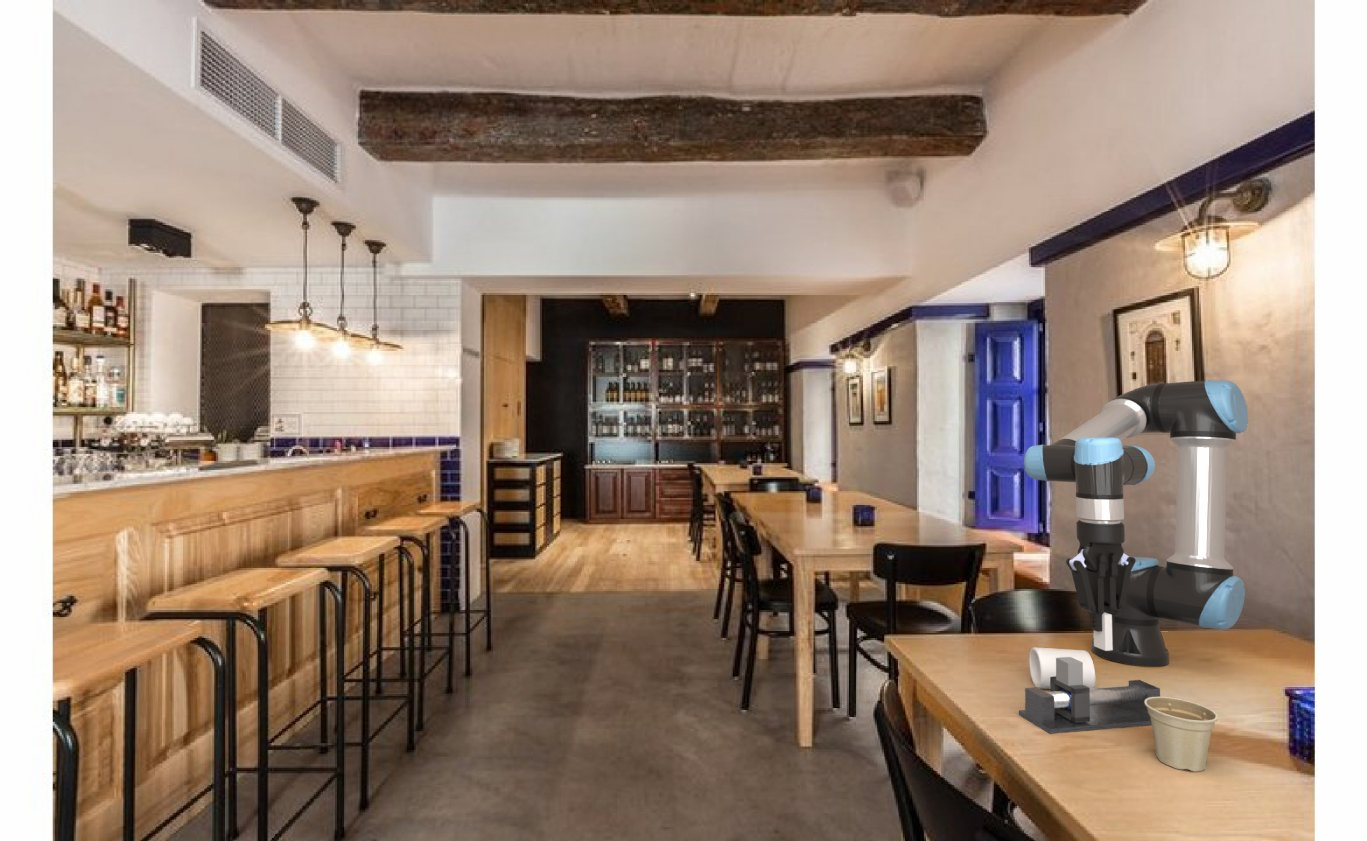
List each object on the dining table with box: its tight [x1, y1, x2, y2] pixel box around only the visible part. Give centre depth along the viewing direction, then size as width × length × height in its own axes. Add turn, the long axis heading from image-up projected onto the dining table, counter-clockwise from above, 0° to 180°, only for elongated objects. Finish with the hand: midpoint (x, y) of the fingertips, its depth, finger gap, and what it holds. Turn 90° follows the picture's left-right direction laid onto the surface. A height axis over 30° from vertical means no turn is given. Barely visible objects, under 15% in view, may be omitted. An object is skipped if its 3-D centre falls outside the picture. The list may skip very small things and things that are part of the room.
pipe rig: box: [1018, 679, 1161, 735], centre depth 121 cm, size 24×8×6 cm, turn 100°
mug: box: [1028, 646, 1096, 690], centre depth 137 cm, size 12×10×8 cm
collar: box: [1049, 657, 1090, 723], centre depth 120 cm, size 3×6×10 cm, turn 10°
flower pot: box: [1144, 696, 1219, 773], centre depth 105 cm, size 9×9×9 cm
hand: (1103, 647), depth 122 cm, fingers closed
